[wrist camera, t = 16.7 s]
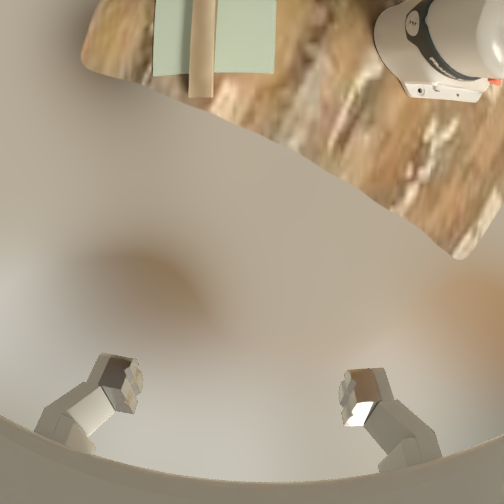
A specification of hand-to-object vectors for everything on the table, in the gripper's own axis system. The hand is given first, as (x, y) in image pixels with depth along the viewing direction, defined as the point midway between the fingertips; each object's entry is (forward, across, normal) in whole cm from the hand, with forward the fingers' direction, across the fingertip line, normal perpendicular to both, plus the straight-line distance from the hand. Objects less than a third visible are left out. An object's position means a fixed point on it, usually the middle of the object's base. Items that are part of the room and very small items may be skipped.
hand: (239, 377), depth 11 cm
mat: (+39, +7, -23) cm, 46 cm away
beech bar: (+39, +8, -19) cm, 44 cm away
